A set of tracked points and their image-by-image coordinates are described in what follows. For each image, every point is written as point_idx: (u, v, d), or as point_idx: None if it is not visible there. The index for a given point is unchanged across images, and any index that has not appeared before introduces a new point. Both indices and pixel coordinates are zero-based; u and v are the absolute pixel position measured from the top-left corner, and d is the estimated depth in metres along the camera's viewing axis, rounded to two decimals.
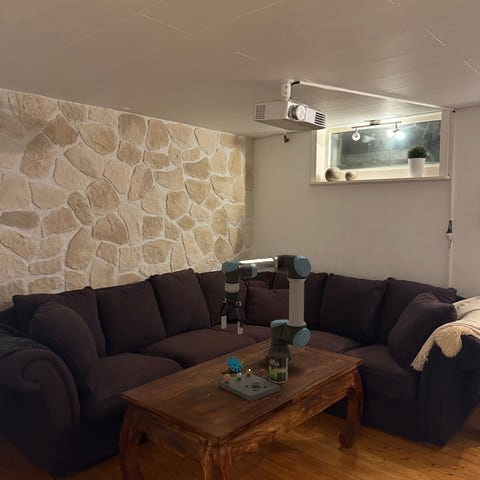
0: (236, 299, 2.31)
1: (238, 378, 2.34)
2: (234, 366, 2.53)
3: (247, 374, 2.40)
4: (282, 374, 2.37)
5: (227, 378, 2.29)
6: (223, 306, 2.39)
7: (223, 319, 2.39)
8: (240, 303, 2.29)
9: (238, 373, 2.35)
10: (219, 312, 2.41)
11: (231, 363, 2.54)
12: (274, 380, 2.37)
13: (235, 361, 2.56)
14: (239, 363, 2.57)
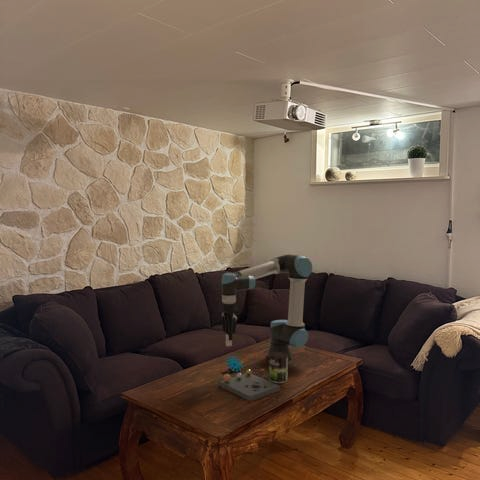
0: (233, 310, 2.37)
1: (238, 378, 2.34)
2: (234, 366, 2.53)
3: (247, 374, 2.40)
4: (282, 374, 2.37)
5: (227, 378, 2.29)
6: (224, 321, 2.43)
7: None
8: (236, 319, 2.36)
9: (238, 373, 2.35)
10: (223, 329, 2.42)
11: (231, 363, 2.54)
12: (274, 380, 2.37)
13: (235, 361, 2.56)
14: (239, 363, 2.57)
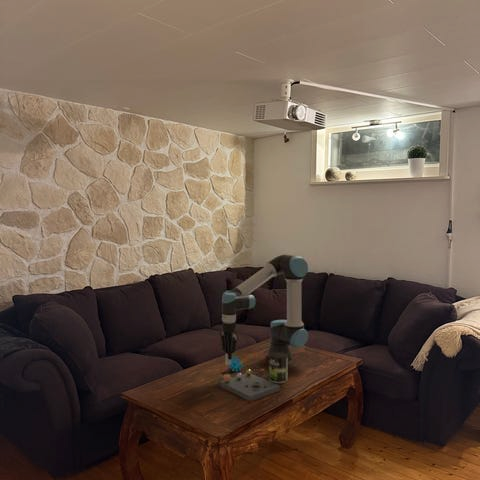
0: (233, 330, 2.38)
1: (238, 378, 2.34)
2: (234, 366, 2.53)
3: (247, 374, 2.40)
4: (282, 374, 2.37)
5: (227, 378, 2.29)
6: (223, 340, 2.44)
7: None
8: (235, 338, 2.36)
9: (238, 373, 2.35)
10: (223, 348, 2.43)
11: (231, 363, 2.54)
12: (274, 380, 2.37)
13: (235, 361, 2.56)
14: (239, 363, 2.57)
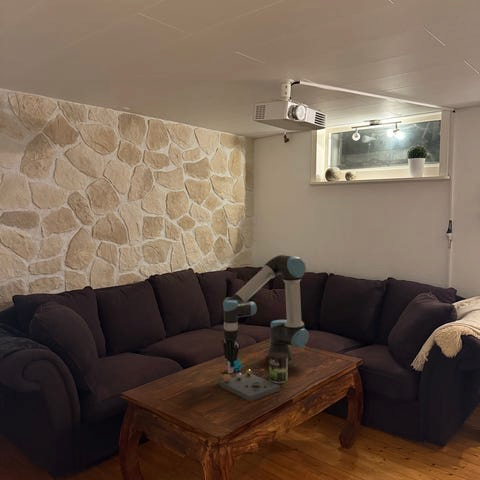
0: (235, 338, 2.37)
1: (238, 378, 2.34)
2: (234, 366, 2.54)
3: (247, 374, 2.40)
4: (282, 374, 2.37)
5: (227, 378, 2.29)
6: (226, 347, 2.43)
7: None
8: (238, 346, 2.35)
9: (238, 373, 2.35)
10: (225, 356, 2.42)
11: None
12: (274, 380, 2.37)
13: (235, 361, 2.56)
14: (239, 363, 2.57)
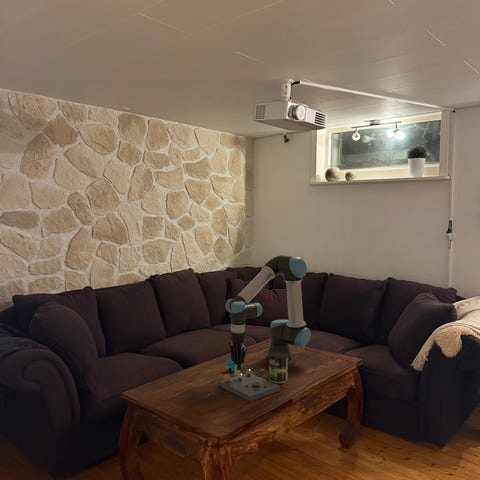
0: (242, 340, 2.32)
1: None
2: None
3: (247, 374, 2.40)
4: (282, 374, 2.37)
5: (227, 378, 2.29)
6: (232, 350, 2.38)
7: None
8: (245, 349, 2.30)
9: (240, 374, 2.34)
10: (232, 358, 2.37)
11: (231, 363, 2.54)
12: (274, 380, 2.37)
13: None
14: None
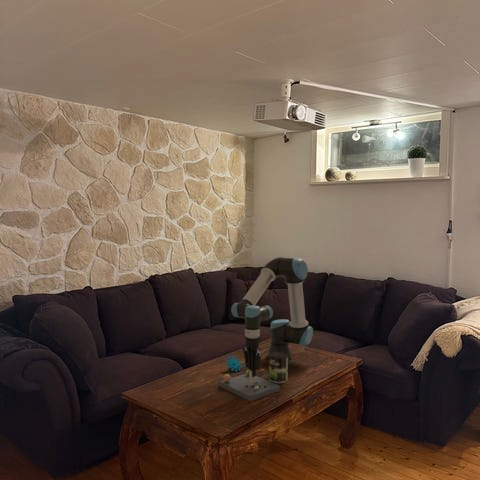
0: (257, 345, 2.23)
1: None
2: (233, 366, 2.54)
3: (247, 374, 2.40)
4: (282, 374, 2.37)
5: (227, 378, 2.29)
6: (247, 356, 2.29)
7: None
8: (260, 355, 2.22)
9: None
10: (246, 364, 2.29)
11: (230, 363, 2.54)
12: (274, 380, 2.37)
13: (235, 361, 2.57)
14: (239, 363, 2.57)
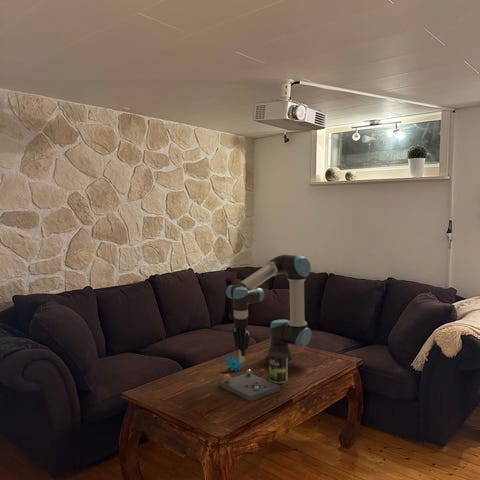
0: (245, 326, 2.30)
1: None
2: (233, 366, 2.54)
3: (247, 374, 2.40)
4: (282, 374, 2.37)
5: (227, 378, 2.29)
6: (236, 336, 2.36)
7: None
8: (249, 334, 2.28)
9: None
10: (235, 344, 2.35)
11: (230, 362, 2.55)
12: (274, 380, 2.37)
13: (235, 361, 2.57)
14: (239, 363, 2.57)
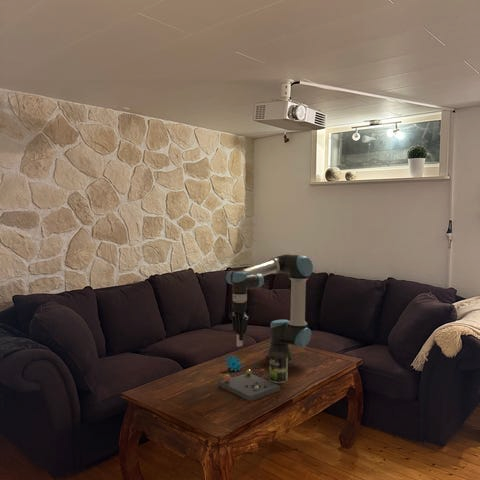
0: (244, 310, 2.30)
1: None
2: (233, 365, 2.54)
3: (247, 374, 2.40)
4: (282, 374, 2.37)
5: (227, 378, 2.29)
6: (234, 320, 2.36)
7: None
8: (247, 318, 2.29)
9: None
10: (233, 329, 2.35)
11: (230, 362, 2.55)
12: (274, 380, 2.37)
13: (235, 360, 2.57)
14: (239, 363, 2.57)
